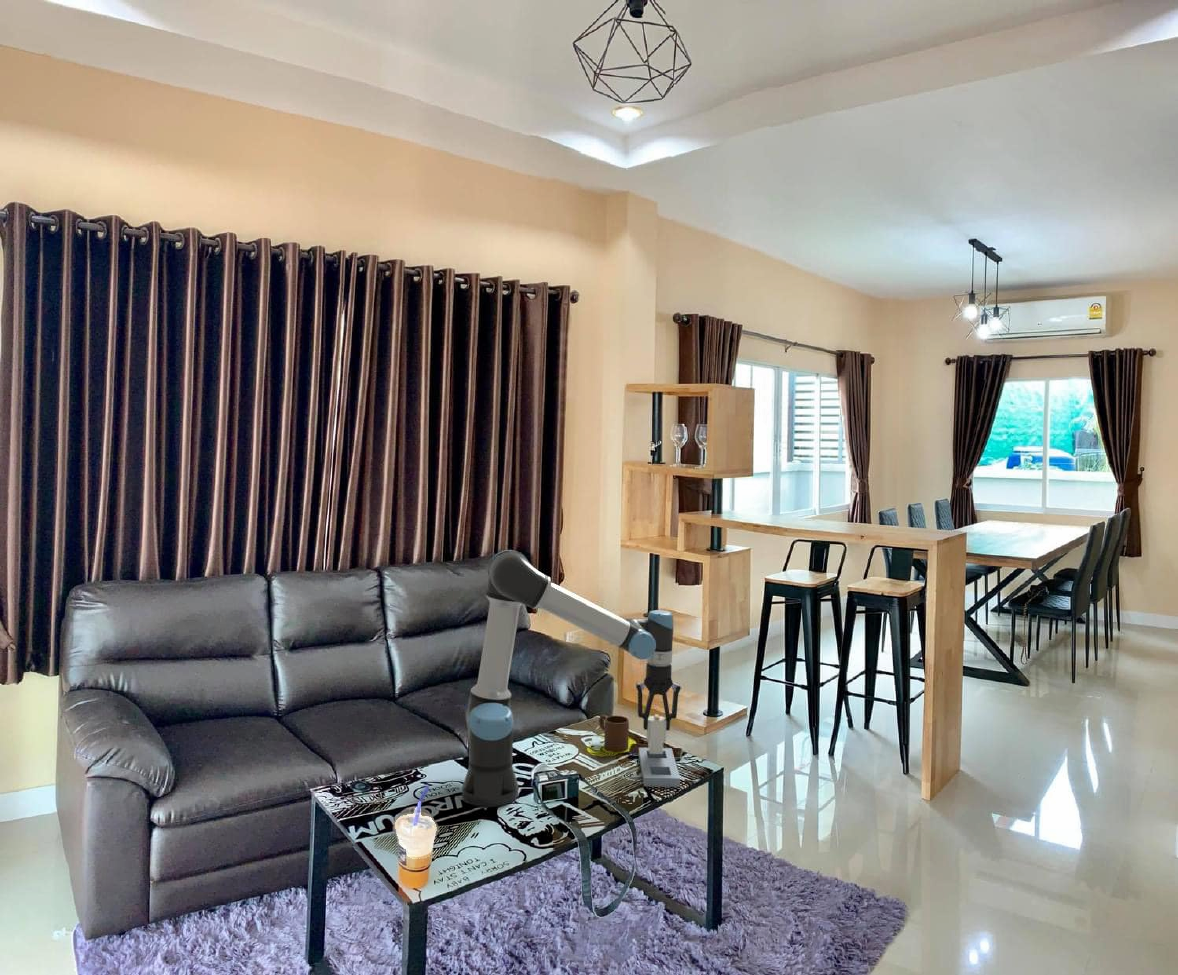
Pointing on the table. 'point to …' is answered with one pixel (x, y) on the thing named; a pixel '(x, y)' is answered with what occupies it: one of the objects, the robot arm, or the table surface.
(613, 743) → the mug
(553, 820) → the table surface
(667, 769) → the panel
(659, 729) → the plug
